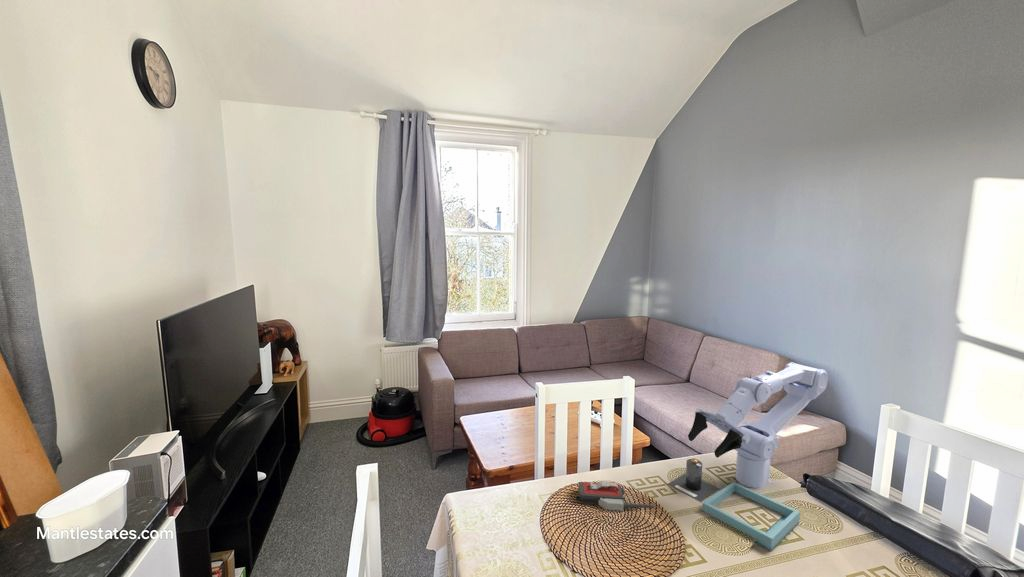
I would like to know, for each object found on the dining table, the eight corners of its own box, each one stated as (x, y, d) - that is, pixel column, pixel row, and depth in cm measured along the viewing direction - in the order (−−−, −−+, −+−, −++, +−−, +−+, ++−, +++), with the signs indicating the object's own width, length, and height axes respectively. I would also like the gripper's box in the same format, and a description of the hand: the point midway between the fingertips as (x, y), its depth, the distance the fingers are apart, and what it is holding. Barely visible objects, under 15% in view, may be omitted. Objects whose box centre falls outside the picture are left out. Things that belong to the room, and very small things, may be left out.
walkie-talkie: (575, 509, 107) (655, 515, 105) (576, 493, 106) (655, 498, 104) (574, 489, 115) (647, 494, 113) (574, 475, 115) (647, 479, 113)
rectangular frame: (732, 491, 114) (733, 481, 114) (799, 523, 101) (800, 511, 101) (702, 513, 104) (702, 502, 104) (771, 551, 92) (772, 538, 91)
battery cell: (690, 480, 118) (691, 454, 117) (703, 487, 114) (705, 460, 114) (682, 485, 115) (683, 459, 114) (696, 492, 112) (697, 465, 111)
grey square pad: (686, 476, 122) (686, 472, 122) (719, 492, 114) (720, 488, 114) (666, 487, 116) (666, 483, 116) (700, 505, 108) (700, 501, 108)
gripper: (706, 390, 115) (675, 422, 111) (758, 415, 104) (726, 453, 99) (710, 406, 119) (680, 438, 115) (761, 432, 107) (730, 469, 103)
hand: (702, 446), depth 107 cm, fingers open, 7 cm apart
